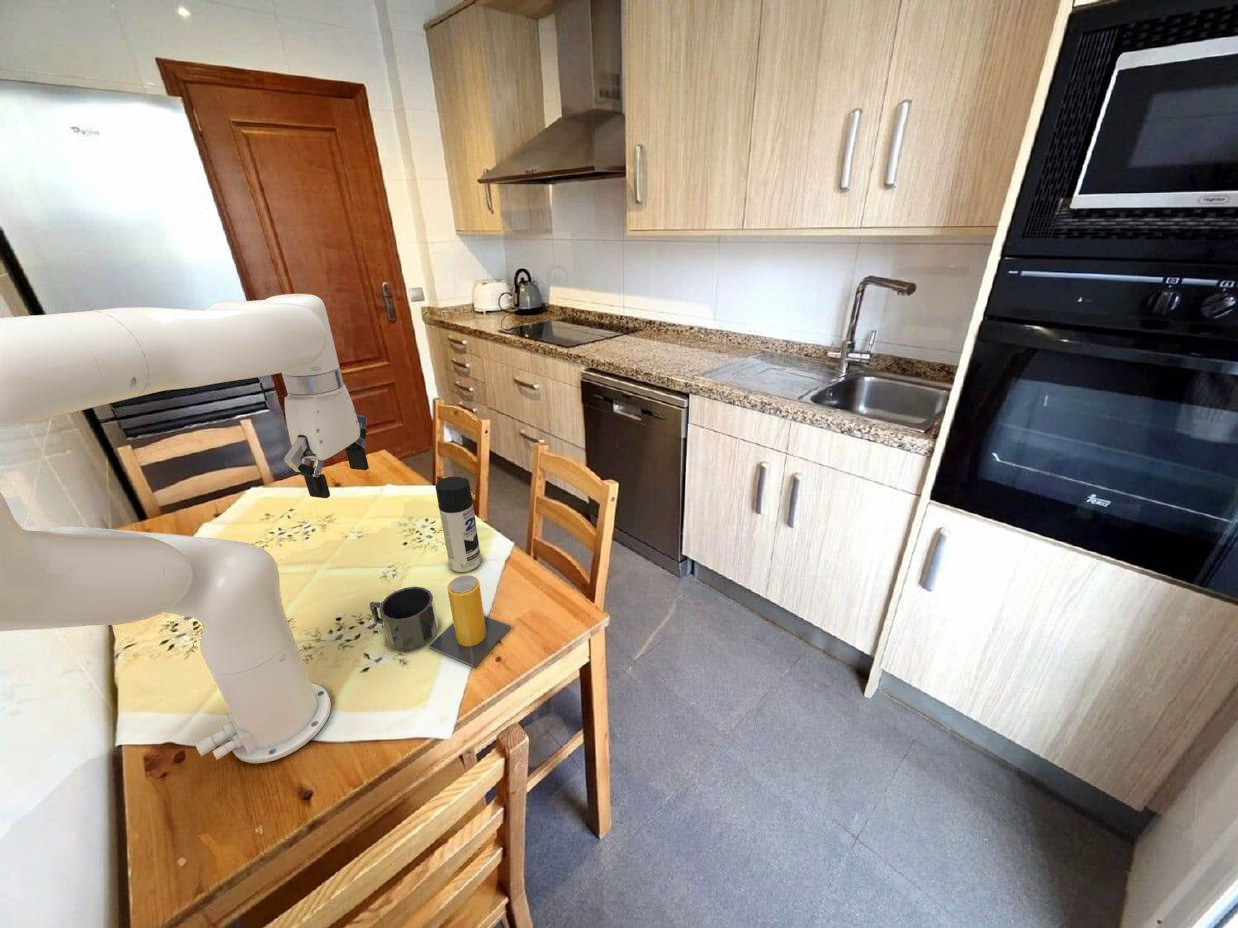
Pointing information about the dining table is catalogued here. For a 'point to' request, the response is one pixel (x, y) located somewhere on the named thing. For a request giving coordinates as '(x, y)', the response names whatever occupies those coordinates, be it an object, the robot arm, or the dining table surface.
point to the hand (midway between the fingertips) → (341, 482)
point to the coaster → (470, 653)
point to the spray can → (458, 523)
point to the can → (467, 610)
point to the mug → (407, 618)
